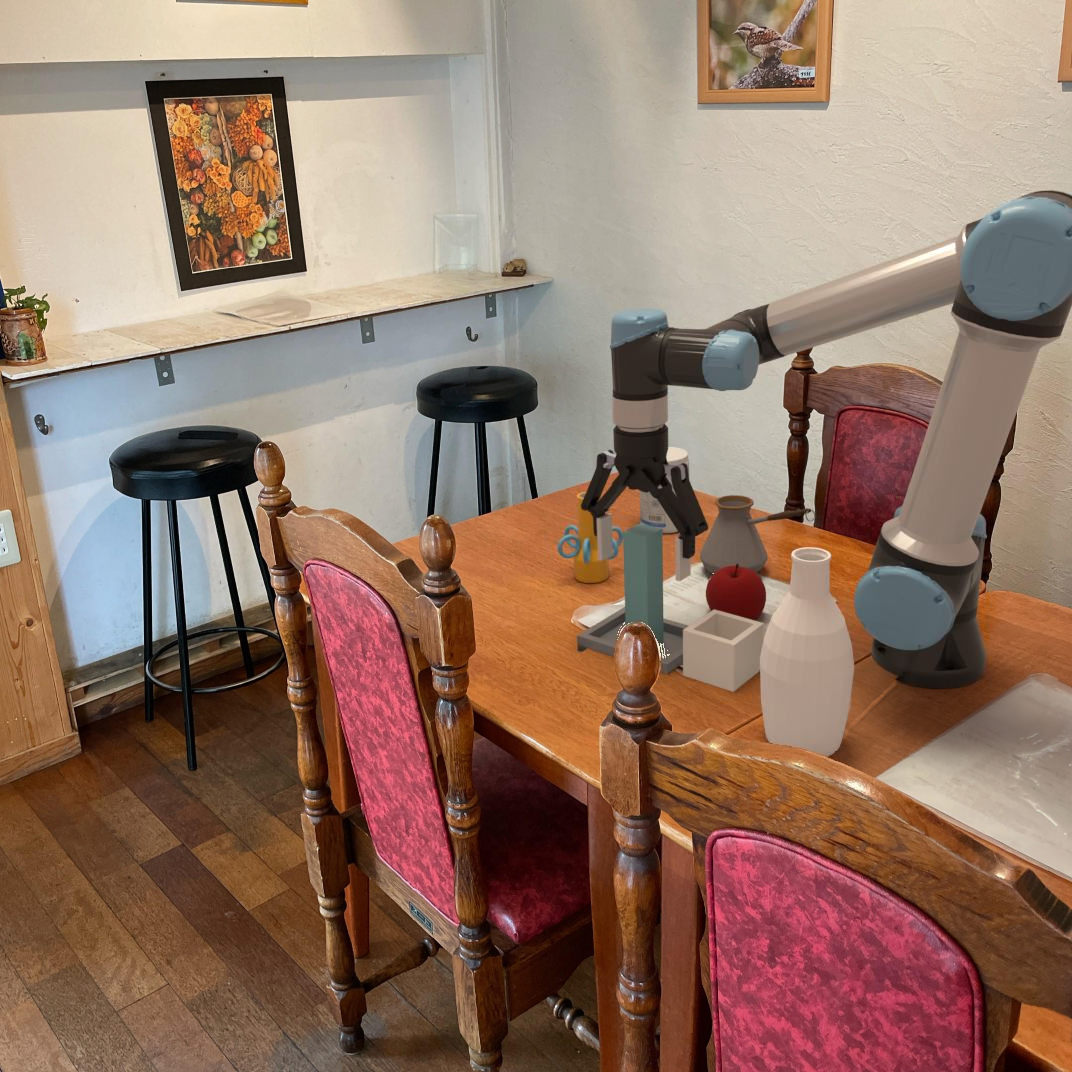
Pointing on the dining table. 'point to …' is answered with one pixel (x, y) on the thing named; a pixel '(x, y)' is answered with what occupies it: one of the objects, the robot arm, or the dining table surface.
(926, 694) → the dining table surface
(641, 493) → the supplement tub
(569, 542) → the yellow ringed vase
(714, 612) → the white open box
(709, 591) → the apple
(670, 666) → the tray
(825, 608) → the bottle
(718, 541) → the coffee pot
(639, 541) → the peg
